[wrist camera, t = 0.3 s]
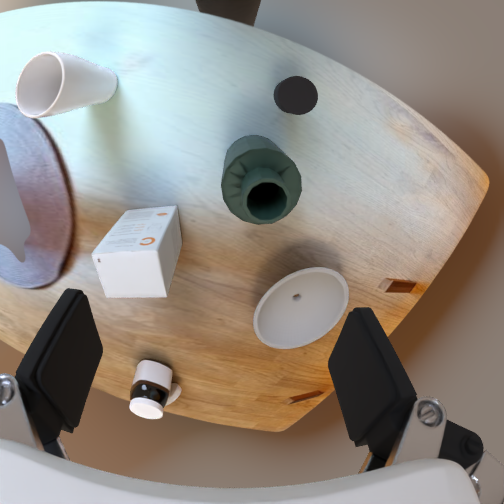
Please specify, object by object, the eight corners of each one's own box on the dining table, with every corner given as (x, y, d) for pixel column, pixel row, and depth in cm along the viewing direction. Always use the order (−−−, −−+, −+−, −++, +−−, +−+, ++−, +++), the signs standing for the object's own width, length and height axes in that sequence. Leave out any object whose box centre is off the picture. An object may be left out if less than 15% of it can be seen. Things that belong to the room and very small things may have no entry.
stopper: (263, 89, 32) (270, 85, 26) (293, 76, 31) (306, 70, 25) (279, 118, 34) (289, 121, 28) (308, 104, 33) (324, 105, 27)
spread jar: (145, 349, 53) (133, 395, 43) (193, 368, 56) (190, 414, 46) (130, 375, 57) (120, 416, 47) (173, 391, 61) (169, 432, 51)
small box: (134, 247, 41) (105, 299, 30) (126, 209, 38) (89, 253, 27) (183, 244, 42) (168, 298, 30) (178, 204, 39) (156, 248, 27)
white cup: (120, 109, 31) (60, 117, 18) (79, 109, 30) (11, 121, 17) (127, 62, 28) (71, 45, 15) (85, 64, 27) (19, 57, 14)
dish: (299, 338, 53) (304, 357, 49) (234, 315, 49) (234, 335, 45) (357, 270, 46) (368, 288, 42) (289, 235, 42) (295, 251, 38)
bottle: (214, 152, 35) (202, 185, 21) (265, 125, 34) (288, 139, 20) (242, 198, 39) (248, 257, 25) (290, 173, 37) (325, 218, 24)
